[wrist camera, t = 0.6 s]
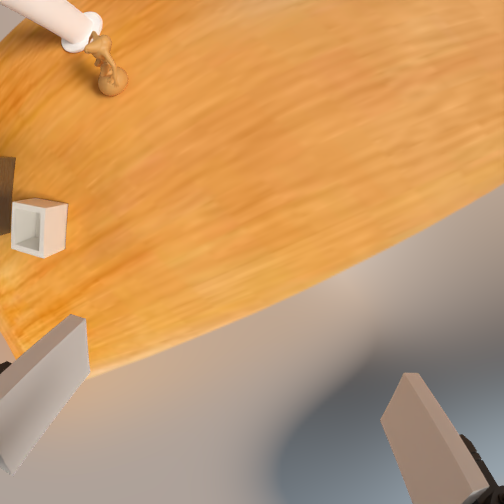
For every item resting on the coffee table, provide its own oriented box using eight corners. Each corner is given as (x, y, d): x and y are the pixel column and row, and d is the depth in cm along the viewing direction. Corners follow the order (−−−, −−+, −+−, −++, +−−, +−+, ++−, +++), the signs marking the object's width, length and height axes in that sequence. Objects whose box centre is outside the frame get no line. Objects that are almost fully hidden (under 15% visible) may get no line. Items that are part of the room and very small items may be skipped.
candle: (66, 22, 32) (-38, -40, 8) (105, 7, 32) (8, -76, 7) (61, 59, 34) (-59, 8, 9) (101, 45, 33) (-15, -30, 9)
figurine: (95, 73, 34) (47, 48, 23) (130, 46, 33) (89, 11, 22) (121, 116, 36) (72, 98, 24) (158, 88, 35) (119, 58, 23)
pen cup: (35, 197, 38) (12, 201, 33) (68, 203, 39) (45, 208, 33) (33, 240, 40) (11, 248, 35) (65, 248, 40) (43, 258, 35)
